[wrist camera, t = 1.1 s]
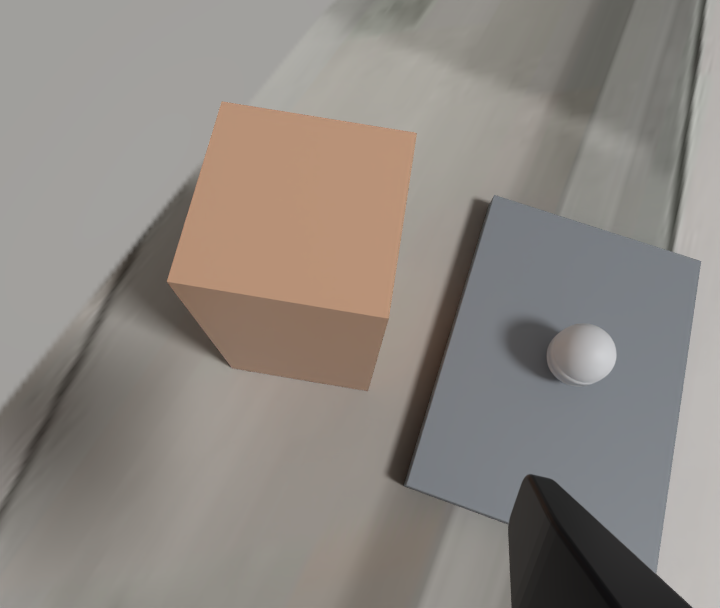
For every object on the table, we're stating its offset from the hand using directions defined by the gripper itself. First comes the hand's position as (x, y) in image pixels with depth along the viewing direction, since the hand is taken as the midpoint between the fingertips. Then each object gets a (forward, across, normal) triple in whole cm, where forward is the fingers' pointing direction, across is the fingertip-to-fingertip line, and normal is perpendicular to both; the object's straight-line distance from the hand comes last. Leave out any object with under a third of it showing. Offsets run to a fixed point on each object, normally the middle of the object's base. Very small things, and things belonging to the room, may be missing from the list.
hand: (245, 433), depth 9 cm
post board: (+16, -10, +4) cm, 19 cm away
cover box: (+16, +1, +4) cm, 16 cm away
